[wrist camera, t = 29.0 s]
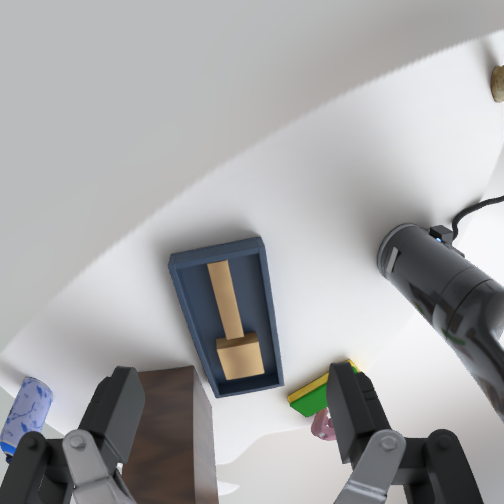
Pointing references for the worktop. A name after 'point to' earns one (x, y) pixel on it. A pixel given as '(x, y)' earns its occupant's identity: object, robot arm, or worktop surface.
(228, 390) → the tray
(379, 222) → the worktop surface
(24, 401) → the aerosol can
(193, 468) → the stand
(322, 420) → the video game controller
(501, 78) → the chocolate bunny
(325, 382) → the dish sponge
